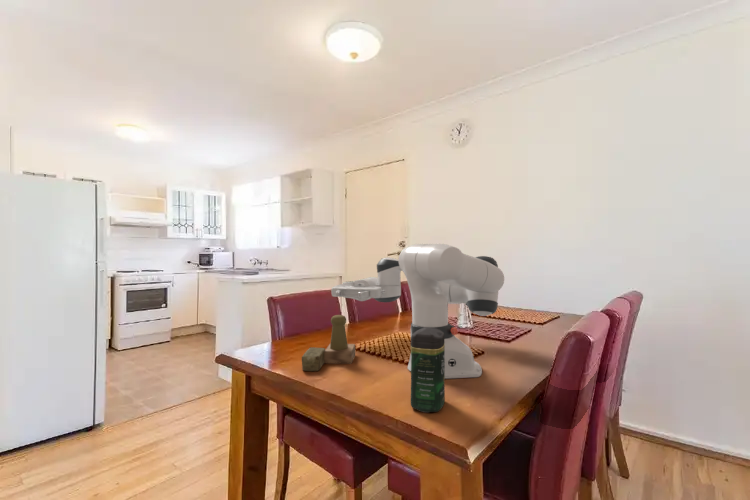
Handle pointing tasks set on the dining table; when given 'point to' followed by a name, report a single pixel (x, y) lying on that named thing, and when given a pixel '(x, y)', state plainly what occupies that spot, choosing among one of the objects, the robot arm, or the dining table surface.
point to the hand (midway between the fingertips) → (348, 294)
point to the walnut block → (340, 355)
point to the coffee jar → (427, 369)
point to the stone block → (313, 359)
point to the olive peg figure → (338, 333)
